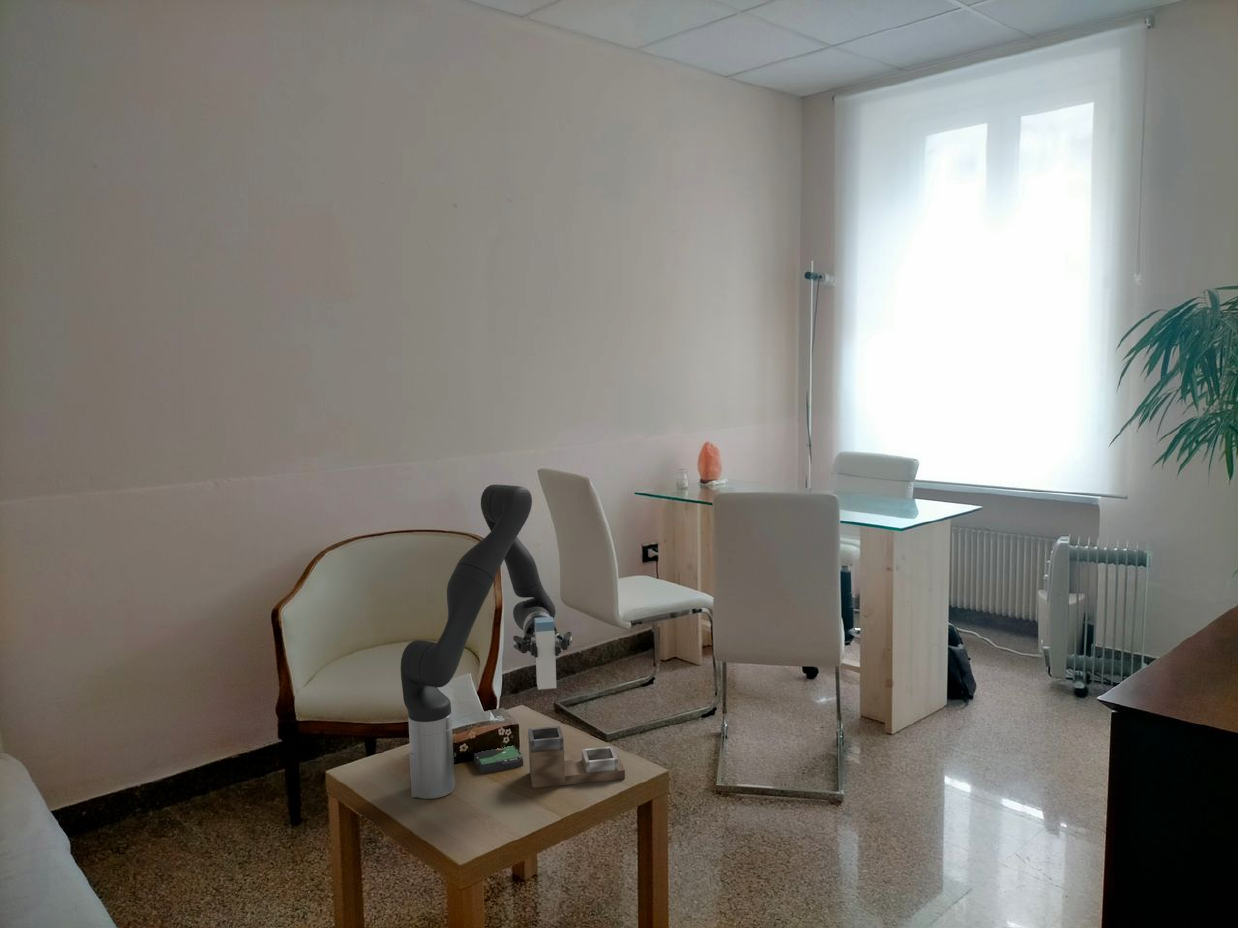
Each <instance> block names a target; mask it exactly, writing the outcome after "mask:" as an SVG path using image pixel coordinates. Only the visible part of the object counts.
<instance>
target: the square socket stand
mask: <svg viewBox="0 0 1238 928" xmlns="http://www.w3.org/2000/svg"><path fill="white" fill-rule="evenodd" d="M527 732H528V755H529V757H528V759H529V774H530V780H531V781H530V782H531V786H532V789H537V788H544V787H545V788H547V787H556V786H565V785H577V784H586V783H595V782H596V783H597V782H605V781H615V780H624V779H623V778H625V779H626V770H625V767H624V764H623V763H622V760H621V758H620V755H617V753H616V750H615V748H614V746H601V747H592V748H582V749H581V758H580V759H568V760H565V749H564V748H565V745H564V743H565V742H564V735H563V733H562V732H563V730H562V728H561V726H560V725H555V726H543V727H535V728H533V727H531V728H528V731H527Z"/></svg>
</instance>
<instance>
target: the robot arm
mask: <svg viewBox="0 0 1238 928" xmlns="http://www.w3.org/2000/svg"><path fill="white" fill-rule="evenodd" d="M532 505H533V497H532V493H531V491H530V490H529V489H528V488H527V487H524V486H521V485H510V484H490V485H488V486H486V487H485V488H484V490H483V491H482V494H481V497H480V509H481V512H482V516H483V518H484V521H485V523H486V524H487V526H488V529H489V531H490V532H489V533H488V534H487V535H486V536H485V537H484V538H483V539H481V540H480V541H479V542H478V543H476V544H475V545H474V546H472V547H471V548H470V549H469V550H467V552H465V554H464V555H462V557H461V558H460V559H459V560H458V562H457V564H456V565H455V568H454V570H453V572H452V574H451V575H450V577H449V580H448V583H447V587H446V603H447V621H446V624H445V627H444V629H443V631H442V633H441V635H440V638H439V639H438V641H437V642H434V641H428V640H422V639H421V640H420V639H418V640H417V639H416V640H413V641H411V642H410V643H408V644H407V645H406V646H405V648H404V650H403V653H402V655H401V659H400V679H401V686H402V687H401V688H402V698H403V703H404V706H405V707H406V710H407V716H408V717H407V719H408V735H409V736H408V737H409V756H408V757H409V771H410V789H411V790H410V791H411V798H419V799H426V800H427V799H428V800H430V799H438V798H439V799H440V798H442V797H446V796H447V795H449V794H450V795H451V793H452V792H454V790H455V788H456V784H455V779H456V778H455V764H454V763H455V760H454V741H453V740H454V739H453V724H452V723H453V720H452V702H451V700H450V698H449V697H448V696H446V695H445V694H444V693H443V692H442V691H441V690H440V689H439V688H443V687H445V686H447V684H449V683H450V682H451V681H452V679H453V677H454V675H455V674H456V672H457V670H458V667H459V664H460V661H461V659H462V657H463V653H464V651H465V647H466V645H467V642H468V639H469V636H470V633H471V631H472V628H473V626H474V624H475V622H476V620H477V617H478V615H479V613H480V611H481V608H482V606H483V604H484V603H485V600H486V598H487V597H488V595H489V592H490V590H491V589H492V586H493V584H494V582H495V579H496V577H497V574H498V572H499V570H500V569H501V566H502V564H503V562H504V563H505V567H506V569H507V572H508V575H509V578H510V582H511V586H512V589H513V592H514V594H515V596H517V597H518V598H523V599H524V598H525V600H522V601H519V602H517V603H516V604H515V606H514V607H513V611H512V616H513V620H514V622H515V624H516V625H517V626H518V628H519V629H520V630H522V631H523V637H522V636H519V635H514V636H512V639H513V640H512V641H513V643H512V645H513V648H514V649H516V650H517V651H518V652H520V653H521V654H527V653H528V652H529V654H530V656H532V657H534V659H536V658H537V657H538V650H537V646H536V643H535V622H534V618H543V617H553V620H554V618H555V616H556V606H555V604H554V602H553V600H552V599H551V598H550V595H548V593H547V592H546V589H545V588H544V587H543V584H542V581H541V579H540V575H539V571H538V567H537V564H536V562H535V559H534V557H533V556H532V554H531V552H530V551H529V550H528V548H527V547H526V545H524V544H523V542H522V541H521V540H520V539H519V537H518V535H519V534H520V532H521V530H522V529H523V527H524V525H525V524H526V522H527V520H528V518H529V515H530V513H531V510H532ZM527 598H528V599H527ZM557 629H558V628H557V626H556V624H555V623H554V631H555V657H558V656H559V655H561V653H562V651H567V650H568V649H569V648H570V646H571V645H572V642H573V638H572V636H573V634H572V632H571V631H567V632H566V633H563V634H561V633H560V632H559V631H558V630H557Z"/></svg>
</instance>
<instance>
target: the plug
mask: <svg viewBox="0 0 1238 928" xmlns="http://www.w3.org/2000/svg"><path fill="white" fill-rule="evenodd" d="M534 622H535V643H536V646H537V650H538V657H537V658H535V668H536V670H535V671H536V673H535V674H536V685H537V690H550V689H557V667H556V666H557V663H556V656H555V631H554V624H555V621H554V619H553V617H543V618H534Z"/></svg>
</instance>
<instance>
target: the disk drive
mask: <svg viewBox="0 0 1238 928" xmlns="http://www.w3.org/2000/svg"><path fill="white" fill-rule="evenodd" d="M474 762H475V763H474ZM473 763H474V764H475V766H476V768H477V770H478V772H479V774H481V775H483V774H487V773H488V774H489V773H494V772H498V771H503V769H504V770H509V768H510V769H514V768H519V767H523V766H524V758H523V756H522V753H521V752H520V751H519V749H518V748H517V746H515V744H514V745H512V746H507V747H504V748H503V747H502V748H497V749H491V750H486V751H481V752H478V753H474V761H473Z"/></svg>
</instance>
